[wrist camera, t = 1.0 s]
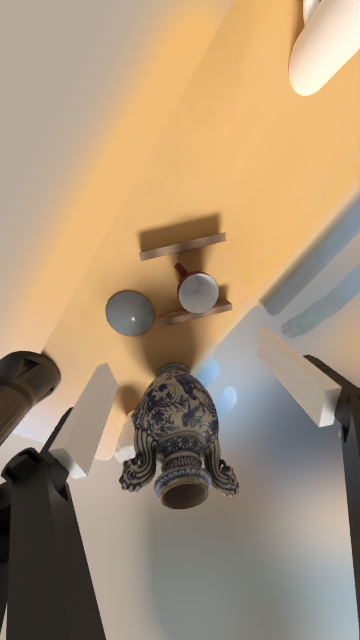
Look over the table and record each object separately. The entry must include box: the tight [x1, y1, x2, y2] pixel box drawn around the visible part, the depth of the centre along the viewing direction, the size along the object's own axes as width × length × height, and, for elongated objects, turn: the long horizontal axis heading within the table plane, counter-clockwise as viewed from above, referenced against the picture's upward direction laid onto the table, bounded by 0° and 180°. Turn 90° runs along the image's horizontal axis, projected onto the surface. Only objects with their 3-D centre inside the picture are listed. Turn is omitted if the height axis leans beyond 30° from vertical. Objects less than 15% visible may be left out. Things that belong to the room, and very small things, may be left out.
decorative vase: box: [119, 363, 239, 509], centre depth 39 cm, size 21×19×28 cm
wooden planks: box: [139, 232, 232, 327], centre depth 39 cm, size 18×17×4 cm
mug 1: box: [175, 263, 219, 314], centre depth 36 cm, size 10×8×10 cm
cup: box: [115, 410, 140, 464], centre depth 52 cm, size 9×9×12 cm
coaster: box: [106, 292, 154, 336], centre depth 43 cm, size 12×12×1 cm
